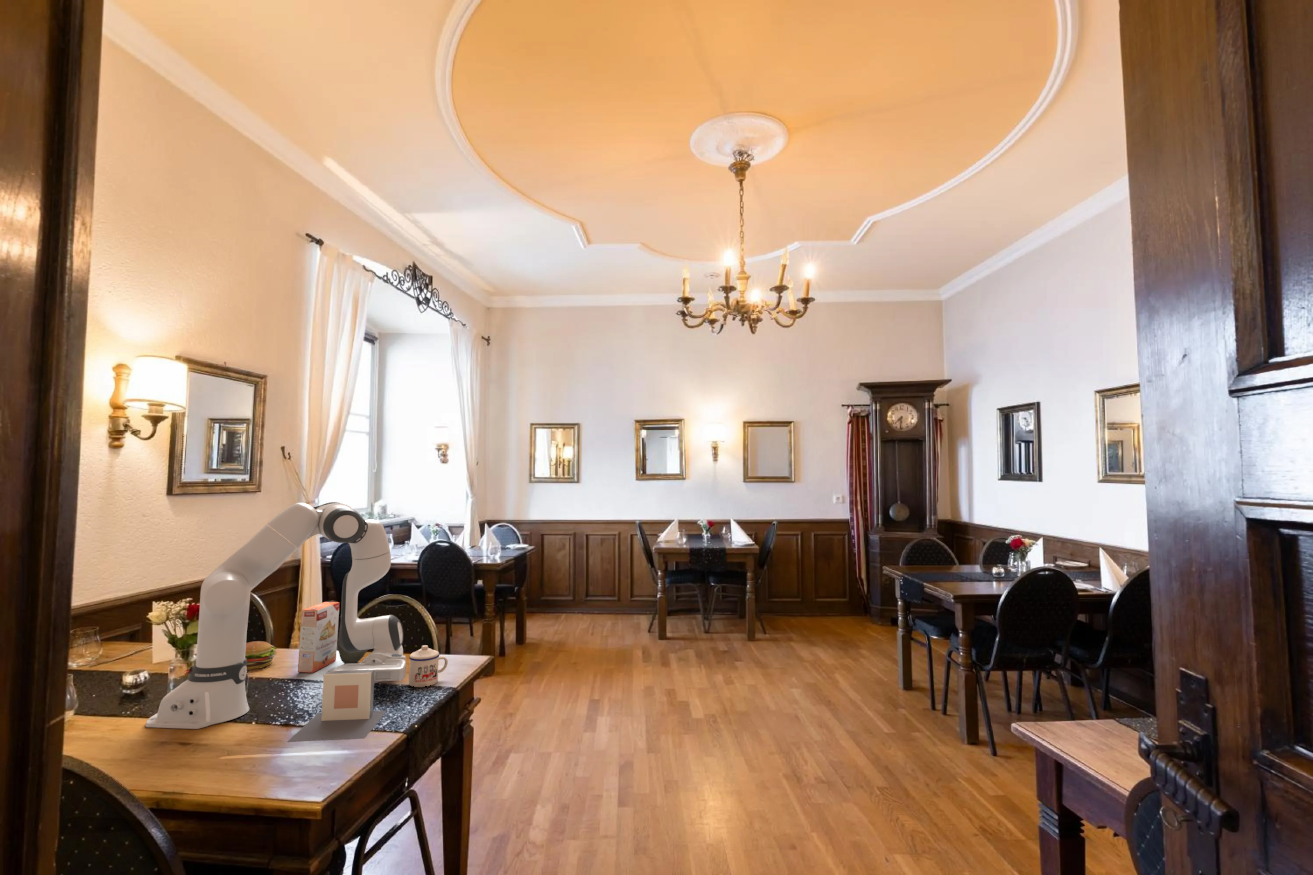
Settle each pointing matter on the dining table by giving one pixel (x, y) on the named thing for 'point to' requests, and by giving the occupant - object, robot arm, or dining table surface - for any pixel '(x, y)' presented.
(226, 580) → the robot arm
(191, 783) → the dining table surface
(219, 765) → the dining table surface
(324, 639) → the cracker box
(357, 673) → the glazed tile
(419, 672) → the teacup with lid
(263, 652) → the food
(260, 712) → the dining table surface
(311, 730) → the felt mat
